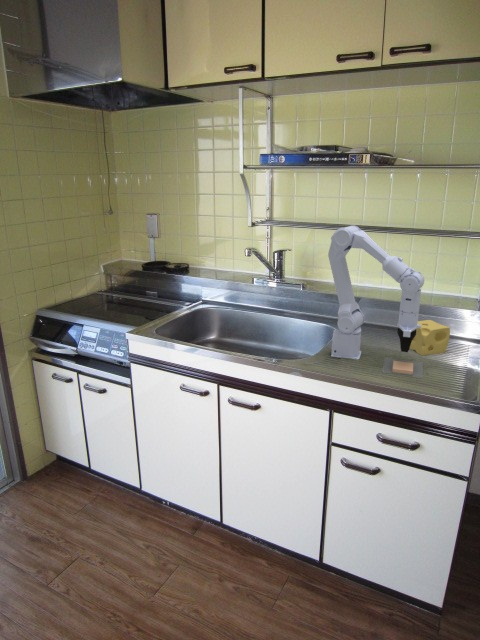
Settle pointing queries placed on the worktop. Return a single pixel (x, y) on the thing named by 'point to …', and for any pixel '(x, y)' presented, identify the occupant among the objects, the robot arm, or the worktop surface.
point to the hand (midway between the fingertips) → (404, 351)
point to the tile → (402, 368)
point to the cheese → (430, 338)
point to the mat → (416, 365)
